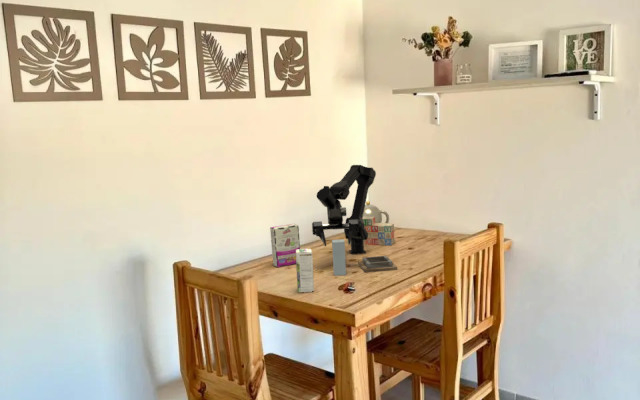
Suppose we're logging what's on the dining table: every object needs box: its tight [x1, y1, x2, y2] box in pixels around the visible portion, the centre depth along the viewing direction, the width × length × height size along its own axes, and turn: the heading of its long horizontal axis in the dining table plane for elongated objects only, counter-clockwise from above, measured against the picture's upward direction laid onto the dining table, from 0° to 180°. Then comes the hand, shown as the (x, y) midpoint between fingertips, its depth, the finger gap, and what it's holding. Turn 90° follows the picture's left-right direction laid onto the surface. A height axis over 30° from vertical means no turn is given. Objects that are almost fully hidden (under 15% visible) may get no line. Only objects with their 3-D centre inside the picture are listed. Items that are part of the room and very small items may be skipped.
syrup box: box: [295, 248, 315, 293], centre depth 207 cm, size 6×6×14 cm
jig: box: [357, 255, 398, 273], centre depth 233 cm, size 13×13×3 cm
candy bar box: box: [269, 223, 301, 268], centre depth 243 cm, size 11×5×16 cm, turn 117°
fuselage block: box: [331, 238, 347, 277], centre depth 225 cm, size 4×4×13 cm
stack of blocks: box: [348, 216, 395, 246], centre depth 274 cm, size 21×6×12 cm, turn 68°
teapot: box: [363, 200, 390, 223], centre depth 296 cm, size 18×14×16 cm
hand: (337, 244), depth 228 cm, fingers open, 9 cm apart
